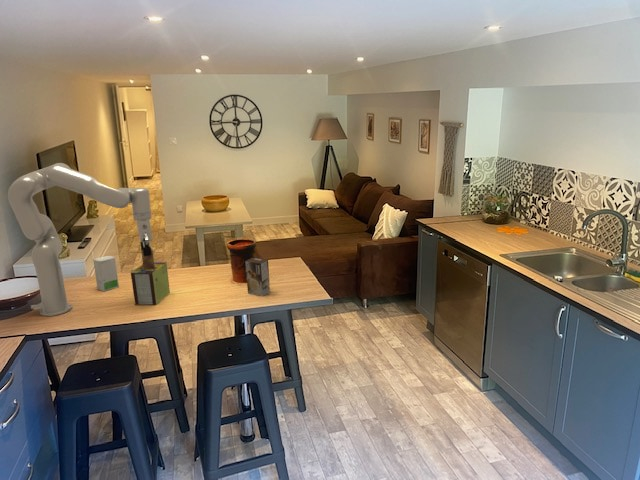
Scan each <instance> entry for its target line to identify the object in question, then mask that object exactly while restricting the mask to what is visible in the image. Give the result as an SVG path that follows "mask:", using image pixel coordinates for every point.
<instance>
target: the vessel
mask: <svg viewBox="0 0 640 480" xmlns="http://www.w3.org/2000/svg"><path fill="white" fill-rule="evenodd" d="M256 246H257V243H256V241H255V240H253V239H250V238H237V239H231V240H229V241H227V243H226V248H227V249H228V250H229V254H230V255H229V256H230V257H229V259H230V265H231V266H230V268H231V273H232V274H231V275H232V278H231V279H230V280H231V282H232V283H233V284H236V285H247V275H246V262H245V261H247V260H249V259H251V258H255V257H254V255H255V253H256V251H255V249H256Z"/></svg>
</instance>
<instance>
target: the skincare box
mask: <svg viewBox="0 0 640 480" xmlns="http://www.w3.org/2000/svg"><path fill="white" fill-rule="evenodd" d="M93 268H94V274H95V280H96V288H97V290H100V291H101V292H106V291H110V290H113V289H117V288H119V287H120V286H119V277H118V271H117V262H116V257H115V256H111V255H106V256H101V257H96V258H93Z"/></svg>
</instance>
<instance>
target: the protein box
mask: <svg viewBox="0 0 640 480" xmlns="http://www.w3.org/2000/svg"><path fill="white" fill-rule="evenodd" d="M167 264H168V263H167V261H154V266H155V268H149V269H144V267H143V263H142V264H141V265H139V266H138V267H137V268H135V269H134V270H133V271H131V272H130V278H131V285H132V286H131V287H132V291H133V298H134V305H138V306H139V305H140V306H141V305H142V306H143V305H144V306H146V305H147V306H157V305H159V303H160V302H161V301H162V300H164V299H165V298H166V297H167V296H168V295H169V294H170V293H171V290H170V289H171V288H170V282H169V272H168V265H167Z"/></svg>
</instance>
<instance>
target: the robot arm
mask: <svg viewBox="0 0 640 480" xmlns="http://www.w3.org/2000/svg"><path fill="white" fill-rule="evenodd" d="M55 186H56V187H60V188H63V189H66V190H68V191H72V192H74V193H77V194H81V195H82V196H83V195H84V196H86V197H87V198H90V199H92V200H94V201H96V202H98V203H100V204H104V205H106V206H109V207H113V208H117V209H123V208H126V207H128V206H129V204H131V208H132V209H131V210H132V215H133V221H136V226H137V227H136V228H137V233H138V238H139V241H140V251H141V250H142V249H143V253H144V256H150V255H151V248H152V247H151V244H150V243H151V242H153V234H152V227H151V221H150V220H152V211H151V210H152V209H151V199H150V191H149V189H148V188H147V187H135V188H131V187H130V188H129V187H119V188H116V189H115V188H112V187H109V185H108V186H107V185H105V184H103V183H101V182H99V181H98V180H97V179H96V178H95V177H94V176H92V175H89V174H86V173H83V172H81V171H78V170H76V169H72V168H71V167H70V166H69V165H68V164H66V163H64V162H56V163H54V164H51V165H49V166H46V167H44V168H41V169H37V170H34V171H31V172H29V173H27V174H23V175H21V176H19V177H18V178H17V179H15V180H14V181H13V182H12V183H11V185H10V186H9V188H8V191H7V199H8V202H9V205H10V207H11V208H12V209H11V210H12V211H13V213H14V215H15V218H16V220H17V222H18V225H19V227H20V229H21V232H22V233H23V234H24V237H26V239H28V240H31V241H35V243H36V244H35V245H34V246H33V248H32V251H31V260H32V263H33V266H34V268H35V269H34V270H35V273H36V279H37V283H38V287H39V293H40V294H39V295H40V298H41V302H39V303H38V304H31V305H30V309H31V310H33V311H35V312H36V311H39V315H41V316H44V317H54V316H59V315H63V314H65V313H67V312H69V311H71V310H72V309H73V305H72V304H71V303H70V302H68V298H67V293H66V287H65V282H64V277H63V276H64V275H63V271H62V266H61V264H60V260H59V255H60V254H61V252H62V251H63V250H62V249H63V244H62V241H61V238H60V236H59V233H58V232H57V230H56V227H55V225H54V223H53V221H52V220H51V219H50V217H49V216H48V215H46V214H43V213H40V211H39V208H38V206H37V204H36V203H35V201H34V199H33V197H34V195H36V194H38V193H40V192H41V191H44V190H47V189H50V188H53V187H55Z"/></svg>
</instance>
